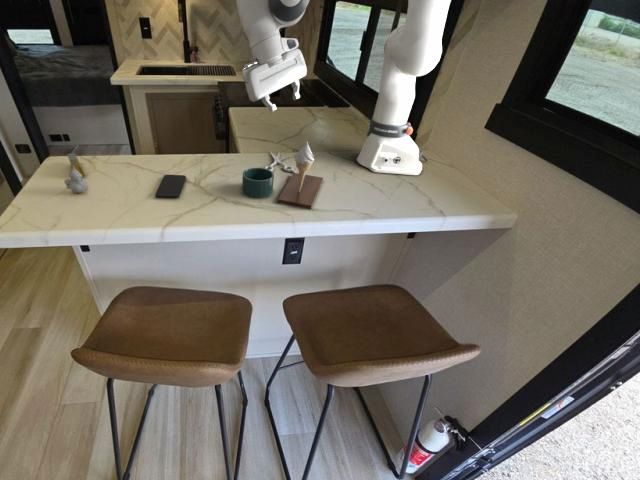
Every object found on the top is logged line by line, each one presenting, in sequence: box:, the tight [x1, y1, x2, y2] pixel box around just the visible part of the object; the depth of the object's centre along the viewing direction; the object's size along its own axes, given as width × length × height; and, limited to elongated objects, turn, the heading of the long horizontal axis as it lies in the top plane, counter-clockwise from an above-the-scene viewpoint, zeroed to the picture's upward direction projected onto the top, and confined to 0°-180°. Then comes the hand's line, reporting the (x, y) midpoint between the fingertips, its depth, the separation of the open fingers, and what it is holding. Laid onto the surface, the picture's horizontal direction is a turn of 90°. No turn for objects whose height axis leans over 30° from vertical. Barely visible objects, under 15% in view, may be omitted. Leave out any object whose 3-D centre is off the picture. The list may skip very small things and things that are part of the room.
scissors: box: [264, 150, 297, 174], centre depth 122 cm, size 11×1×20 cm
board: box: [277, 172, 324, 210], centre depth 106 cm, size 10×20×1 cm, turn 160°
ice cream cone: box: [294, 141, 315, 192], centre depth 99 cm, size 6×6×15 cm
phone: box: [154, 174, 187, 199], centre depth 107 cm, size 7×1×15 cm
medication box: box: [67, 152, 86, 177], centre depth 113 cm, size 12×3×4 cm, turn 28°
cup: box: [241, 167, 275, 199], centre depth 104 cm, size 10×10×6 cm
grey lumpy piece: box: [63, 166, 89, 194], centre depth 101 cm, size 5×7×8 cm
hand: (285, 105), depth 102 cm, fingers open, 8 cm apart
